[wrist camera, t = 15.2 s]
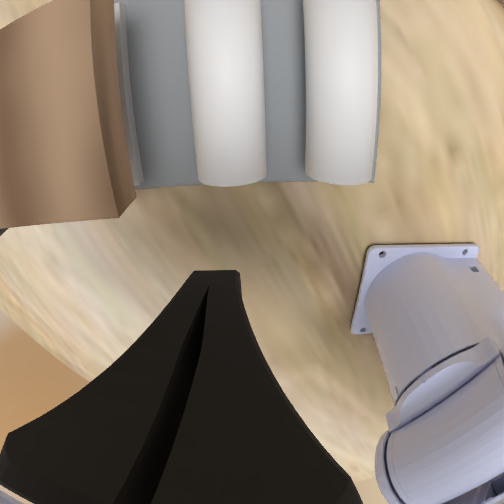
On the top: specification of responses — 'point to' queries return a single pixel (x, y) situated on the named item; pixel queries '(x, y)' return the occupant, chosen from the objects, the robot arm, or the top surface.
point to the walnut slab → (62, 117)
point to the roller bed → (175, 91)
